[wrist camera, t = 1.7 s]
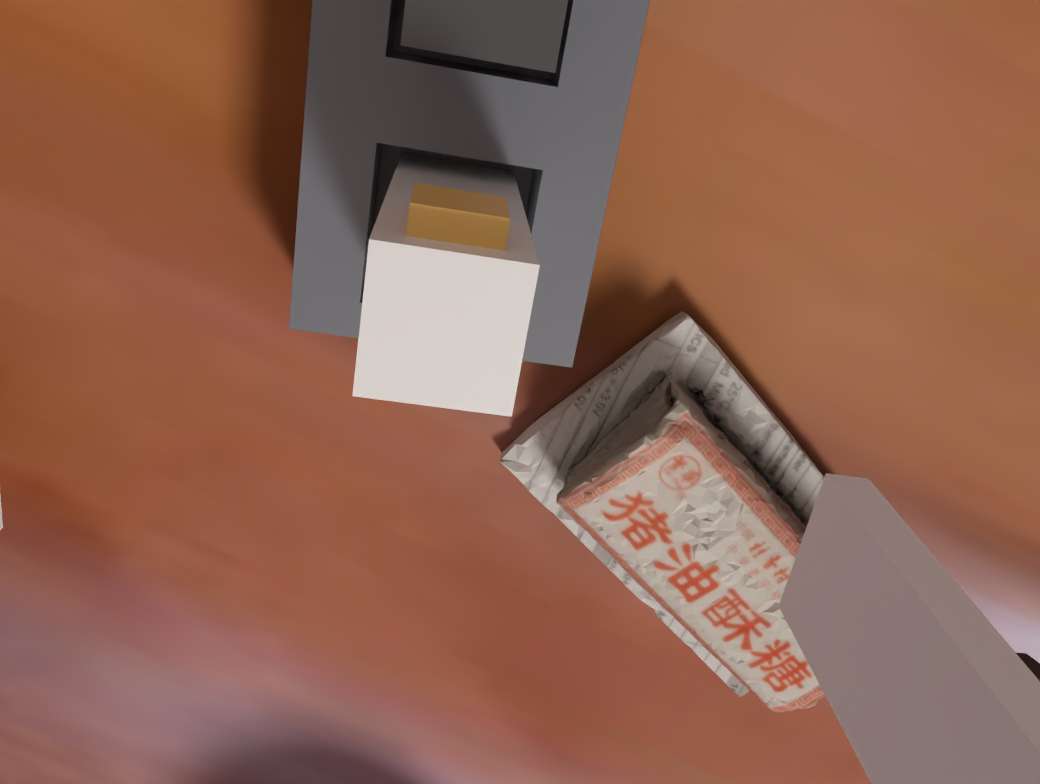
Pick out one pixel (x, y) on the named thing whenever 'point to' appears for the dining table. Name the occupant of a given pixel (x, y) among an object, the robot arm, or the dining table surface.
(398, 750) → the dining table surface
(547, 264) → the socket strip
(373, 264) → the plug
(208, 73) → the dining table surface
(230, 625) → the dining table surface
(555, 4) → the dark grey block
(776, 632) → the packaged product
